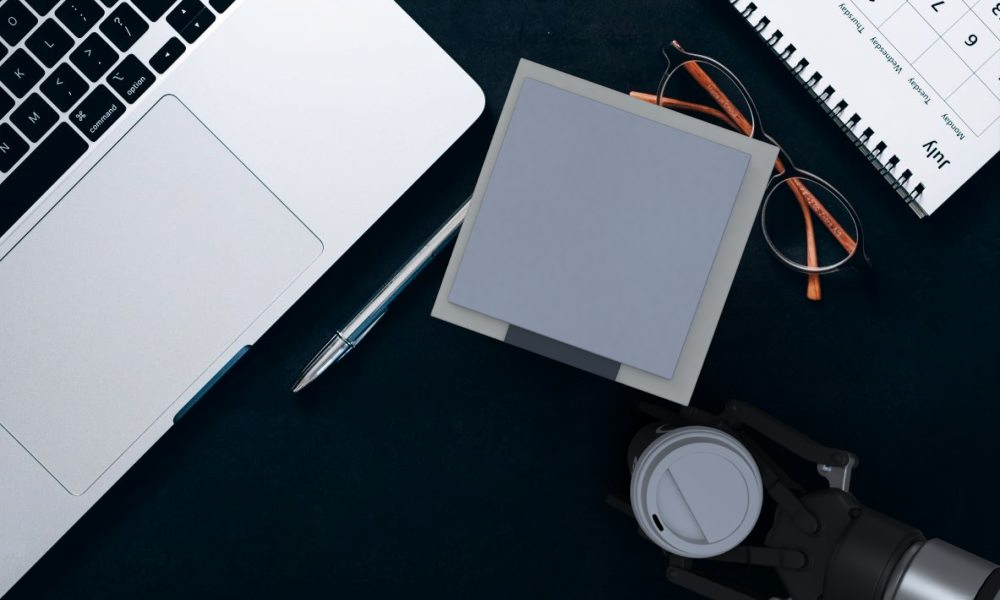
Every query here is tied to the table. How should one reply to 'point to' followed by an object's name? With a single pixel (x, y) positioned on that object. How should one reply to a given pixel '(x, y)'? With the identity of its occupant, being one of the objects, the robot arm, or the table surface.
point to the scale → (604, 231)
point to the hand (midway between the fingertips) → (632, 453)
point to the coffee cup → (693, 488)
